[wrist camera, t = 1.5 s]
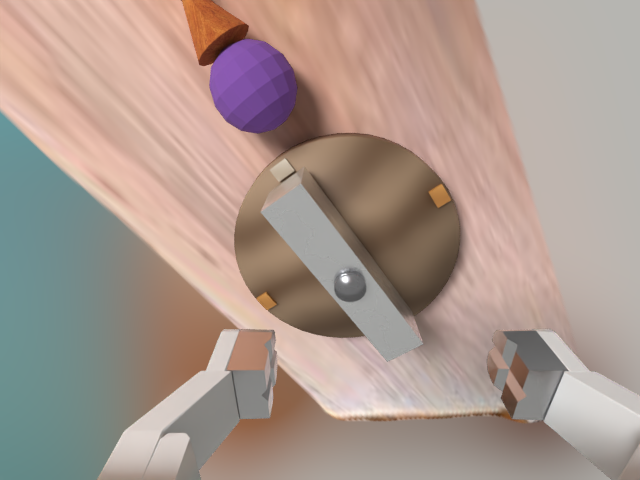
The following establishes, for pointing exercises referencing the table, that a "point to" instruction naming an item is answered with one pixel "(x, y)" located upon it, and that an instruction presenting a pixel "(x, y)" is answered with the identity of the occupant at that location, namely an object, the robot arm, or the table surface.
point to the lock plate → (352, 228)
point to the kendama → (241, 69)
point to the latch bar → (341, 263)
